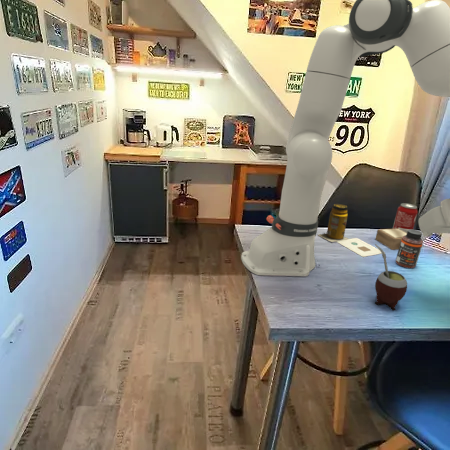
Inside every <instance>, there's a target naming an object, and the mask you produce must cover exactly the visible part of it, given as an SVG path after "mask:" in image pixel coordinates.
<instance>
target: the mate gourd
mask: <svg viewBox="0 0 450 450" xmlns="http://www.w3.org/2000/svg"><path fill="white" fill-rule="evenodd" d="M374 245H375V246H376V247H375V248H377V249H379V250H380V251H381V253H382V254H381V257H382V259H383V263H384V271H383V272H381V273H380V274H378V275H377V276H378V277H377V278H376V281H375V285H374V289H375V292H376V295H375V296H376V301H375V302H374V305H376V306H386V307H388V308H389V309H390V310H391V311H393V312H394V311H396V306H397V304H399V302H400V301H401V300H403V298H404V297H405V295H406V292H407V291H408V290H407V289H408V282H407V279H406V277H405V275H403V274H401V273H399V272H397V271H393V270H389V269H388V264H387V256H386V252H385V251H384V250H383V249H382V248H381V247H380V246H379V245H377V243H375V244H374ZM384 252H385V253H384Z"/></svg>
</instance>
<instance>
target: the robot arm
mask: <svg viewBox="0 0 450 450" xmlns="http://www.w3.org/2000/svg"><path fill="white" fill-rule="evenodd" d="M395 47H398V48H399V49H401V50H402V51H403V53H404V54H405V57H406V58H407V61H408V64H409V66H410V69H411V71H412V74H413V77H414V79H415V81H416V83H417V85H418V87H420V89H421V90H422V91H423V92H424V93H425V94H428V95H432V96H436V97H441V98H443V97H444V98H446V97H447V98H450V6H449V5H448V3H447V2H446V1H444V0H428V1H425V2H422V3H421V4H418V5H417V6H415V7H413V3H412V2H411V0H355V2H354V3H353V5H352V7H351V10H350V13H349V17H348V23H347V24H344V25H339V24H338V25H337V24H336V25H331V26H328V27H326V28H324V29H323V30H322V31H321V32H320V33H319V35H318V37H317V39H316V42H315V44H314V47H313V49H312V51H311V54H310V58H309V61H308V65H307V68H306V71H305V74H304V75H305V76H304V80H303V82H302V83H303V84H302V87H301V91H300V95H299V100H298V104H297V107H296V110H295V114H294V116H293V120H292V124H291V127H290V130H289V134H288V137H287V140H286V141H287V142H286V143H285V144H286V146H285V153H286V156H287V158H286V159H287V161H286V167H285V173H284V179H283V185H282V189H281V196H280V202H279V203H280V205H279V211H278V212H279V213H278V215H277V216H276V217H273V216H272V215H271V214H269V215H267V217H266V218H265V219H266V221H267V222H268V223H269V224H271V227H270V228H269V229H267V230H266V231H264V232H263V233H261V234H259V235H258V236H256V237H254V238H253V239H252V241H251V243H250V247H249V249H248V250H245V251H243V252H242V253H241V256H240V260H241V263H242V264H243V266H244V267H245V268H246V269H247V270H248V271H249V272H251V273H253V274H254V275H257V276H281V277H308V276H309V275H310V272H311V271H312V270H313V269H315V267H316V257H315V241H316V236H317V232H318V228H319V220H318V217H319V211H320V207H321V198H322V195H323V190H324V188H325V185H326V181H327V178H328V174H329V170H330V167H331V164H332V161H333V160H332V159H333V148H332V145H331V142H329V139H330V136H331V133H332V131H333V129H334V126H335V124H336V122H337V120H338V117H339V115H340V114H341V112H342V110H343V109H342V108H343V105H344V101H345V99H346V95H347V92H348V88H349V85H350V81H351V77H352V73H353V70H354V67H355V64H356V61H357V60H358V58H359V57H361V58H362V57H368V56H374V55H379V54H380V55H381V54H384V53H387V52H389V51H391V50H392V49H394V48H395ZM417 221H418V227H419V231H420V232H421V233H422V235H423V237H425V238H428V237H429V238H430V237H432V236H433V235H434V234H450V198H445V199H443V200H441V201H440V205H438V206H434V207H433V208H431V209H429V210H428V211H427V212H426V213H424V214H423V215H421V216H420V217H419V218H418V220H417Z"/></svg>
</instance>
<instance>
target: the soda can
mask: <svg viewBox="0 0 450 450" xmlns="http://www.w3.org/2000/svg"><path fill="white" fill-rule="evenodd" d="M417 216H418V206H417V205H415V204H411V203H406V202H405V203H404V202H403V203H400V205H399V206H398V207H397V210H396V214H395V218H394V222H393V226H392V229H397V228H398V229H400V230H402V231H404V232H406V233H407V231H408V230H409V229H413V230H414V227H415V223H416V220H417Z"/></svg>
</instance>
